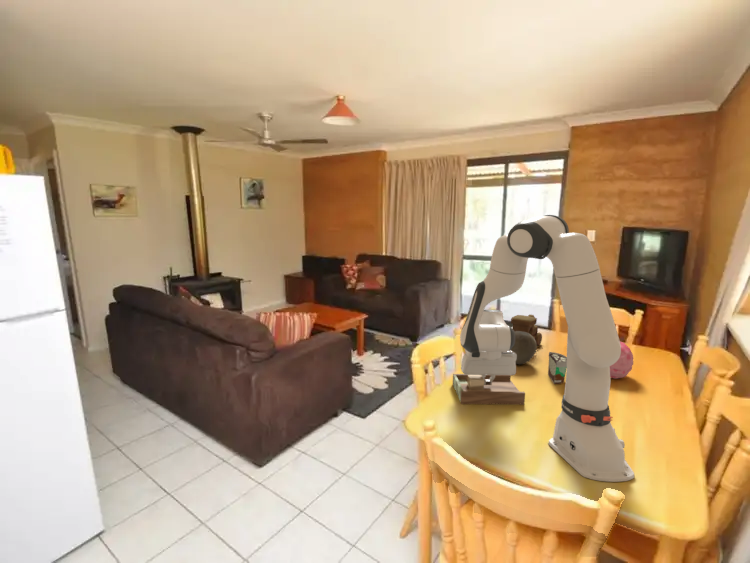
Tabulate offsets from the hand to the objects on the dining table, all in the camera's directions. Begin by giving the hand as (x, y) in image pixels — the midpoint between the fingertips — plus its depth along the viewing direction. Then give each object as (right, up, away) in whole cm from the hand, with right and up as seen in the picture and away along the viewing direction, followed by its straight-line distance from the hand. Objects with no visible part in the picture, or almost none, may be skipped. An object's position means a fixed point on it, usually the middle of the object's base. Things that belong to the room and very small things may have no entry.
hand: (487, 384), depth 140 cm
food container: (+34, -2, +13) cm, 36 cm away
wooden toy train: (+37, +5, +53) cm, 65 cm away
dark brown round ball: (+24, +1, +31) cm, 39 cm away
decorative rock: (+59, -1, +17) cm, 61 cm away
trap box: (0, -4, 0) cm, 4 cm away
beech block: (-5, -1, 0) cm, 5 cm away
